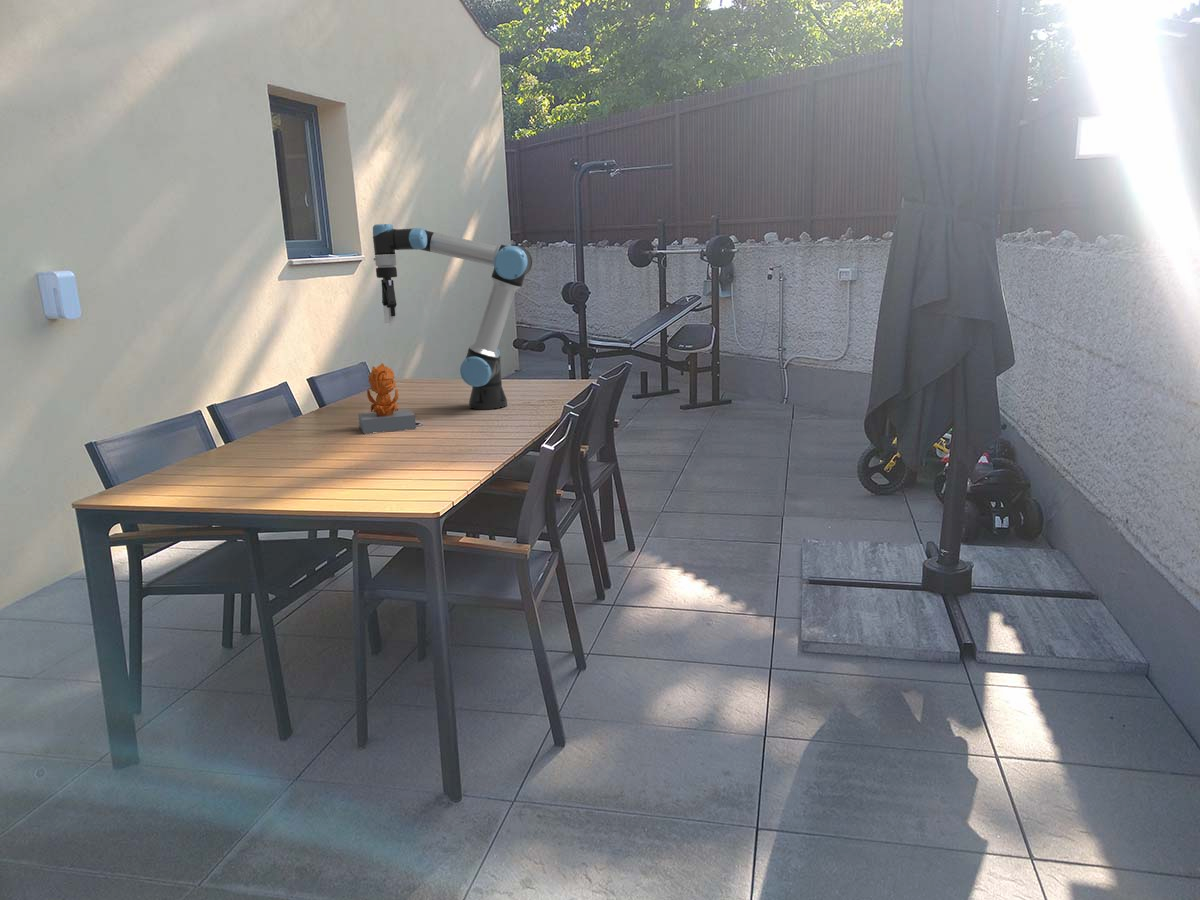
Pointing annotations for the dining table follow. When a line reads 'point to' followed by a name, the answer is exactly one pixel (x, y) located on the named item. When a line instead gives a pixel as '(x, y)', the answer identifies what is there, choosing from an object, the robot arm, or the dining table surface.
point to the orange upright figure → (382, 391)
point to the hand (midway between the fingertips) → (391, 324)
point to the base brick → (387, 421)
